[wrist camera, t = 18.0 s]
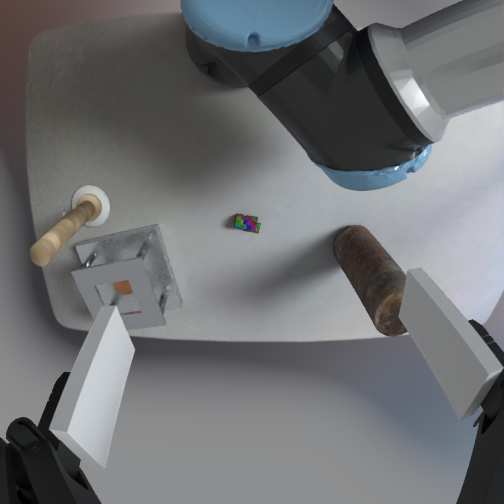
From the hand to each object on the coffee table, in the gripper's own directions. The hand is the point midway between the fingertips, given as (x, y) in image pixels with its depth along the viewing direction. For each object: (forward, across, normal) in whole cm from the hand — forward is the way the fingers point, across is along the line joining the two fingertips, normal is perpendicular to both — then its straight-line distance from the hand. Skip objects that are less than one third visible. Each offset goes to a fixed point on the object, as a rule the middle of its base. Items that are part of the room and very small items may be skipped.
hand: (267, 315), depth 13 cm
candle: (+36, +17, -16) cm, 43 cm away
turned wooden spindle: (+34, -25, -4) cm, 43 cm away
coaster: (+35, -25, -4) cm, 43 cm away
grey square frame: (+35, -21, -16) cm, 44 cm away
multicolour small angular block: (+36, 0, -10) cm, 37 cm away
